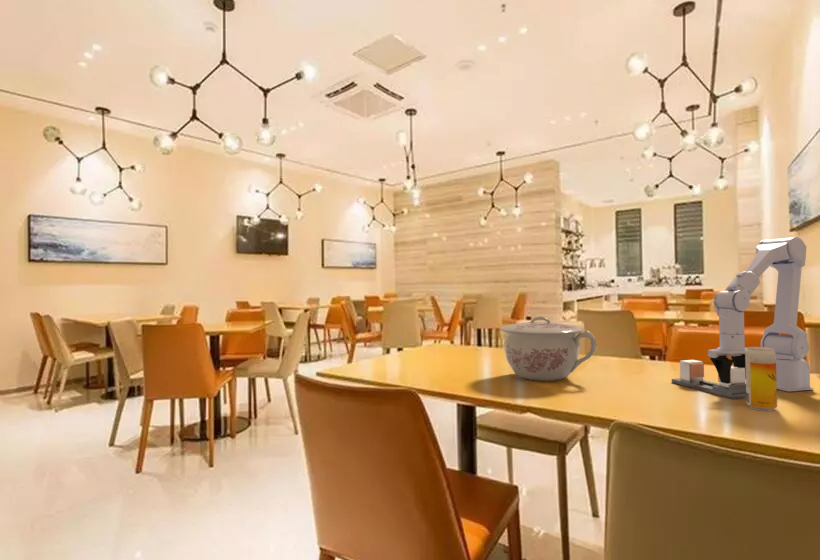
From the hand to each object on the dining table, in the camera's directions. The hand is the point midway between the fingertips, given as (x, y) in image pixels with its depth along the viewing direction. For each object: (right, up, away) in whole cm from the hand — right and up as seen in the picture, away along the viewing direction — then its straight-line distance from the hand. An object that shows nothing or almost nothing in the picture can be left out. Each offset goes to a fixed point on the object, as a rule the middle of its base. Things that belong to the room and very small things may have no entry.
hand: (732, 382), depth 126 cm
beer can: (-2, -4, -13) cm, 14 cm away
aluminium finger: (0, -2, 0) cm, 2 cm away
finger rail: (-2, -4, +7) cm, 8 cm away
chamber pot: (-45, -5, +27) cm, 53 cm away
